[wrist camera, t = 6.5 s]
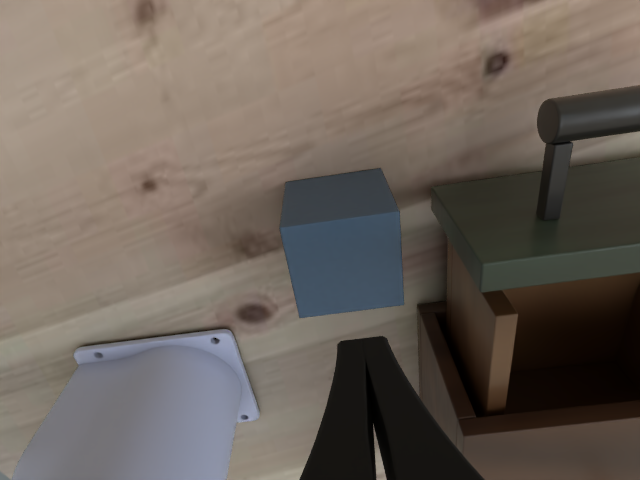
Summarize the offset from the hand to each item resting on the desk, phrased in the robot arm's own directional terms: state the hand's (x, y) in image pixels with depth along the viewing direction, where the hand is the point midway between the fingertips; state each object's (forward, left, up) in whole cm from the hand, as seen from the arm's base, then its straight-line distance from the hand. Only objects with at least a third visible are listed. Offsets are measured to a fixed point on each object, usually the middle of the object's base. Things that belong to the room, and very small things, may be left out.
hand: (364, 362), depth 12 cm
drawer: (+10, -3, -9) cm, 13 cm away
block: (0, 0, -9) cm, 9 cm away
